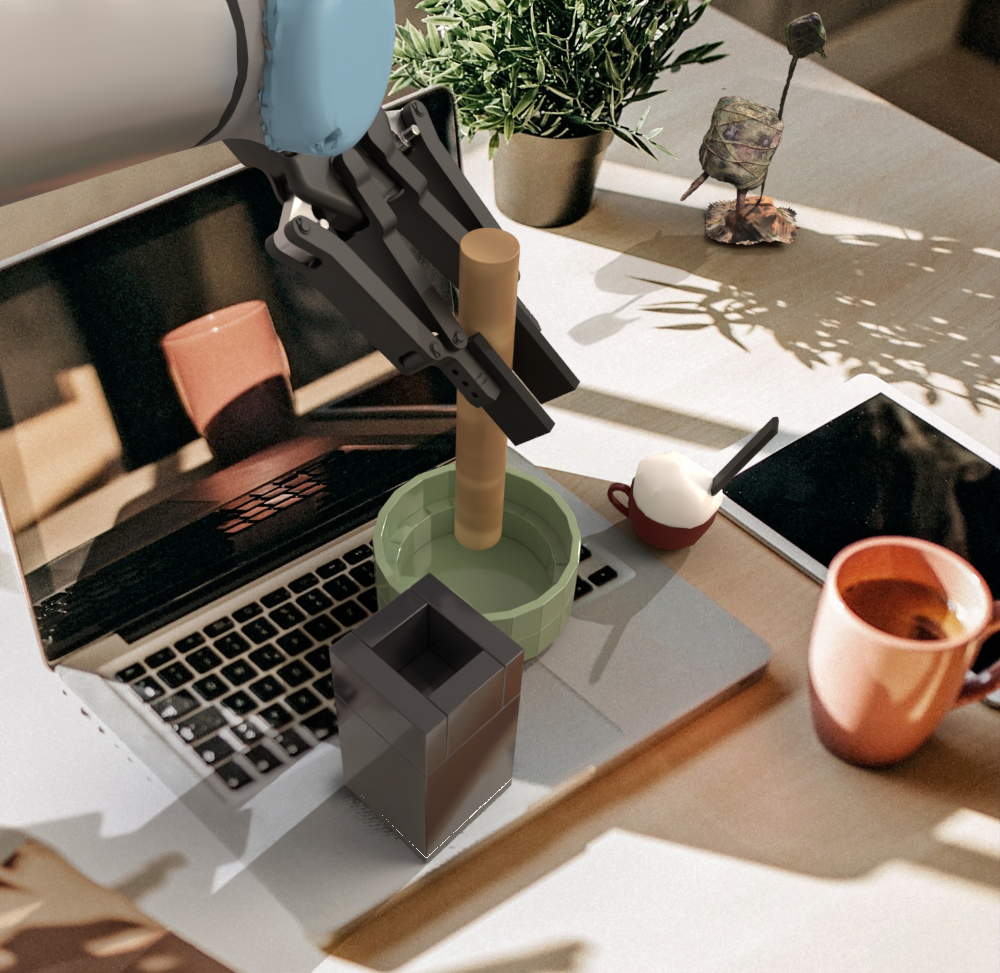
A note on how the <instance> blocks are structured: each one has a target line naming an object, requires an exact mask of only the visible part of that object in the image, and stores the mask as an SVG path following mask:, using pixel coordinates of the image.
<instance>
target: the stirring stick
mask: <svg viewBox="0 0 1000 973" xmlns="http://www.w3.org/2000/svg"><path fill="white" fill-rule="evenodd" d="M520 254H521V244H520V241H519V240H518V238H517V237H516V236H515V235H513V233H511V232H509V231H506V230H504V229H502V230H501V229H496V228H481V229H476V230H473V231H471V232H469V233H467V234H466V235H465V236H464V237H463V238H462V239H461V241H460V252H459V290H458V307H457V308H458V309H457V310H458V313H457V321H458V323H459V324H460V326H461V327H462V329H463V330H464V332H465V334H466V336H467V338H469V337H471V336H473V335H475V334H477V333H478V332H480V333H481V334H482V335H483V337H484V338H485V339H486V340H487V341H488V343H489V344H490V345H491V346H492V347H493V349H494V350H495V351H496V352H497V353H498V355H499V356H500V357H501V358H502V360H503V361H504V362H505V363H506V364H507V366H508V367H509V368H510V369H511V370H512V364H513V349H514V334H515V318H516V303H517V296H518V285H519V281H518V272H519V271H520V257H521V255H520ZM512 371H513V370H512ZM455 415H456V418H455V419H456V422H455V464H456V469H455V523H454V534H455V537H456V539H457V541H458V542H459V543H460V544H461V545H462V546H464V547H466V548H468V549H472V550H485V549H488V548H491V547H493V546H494V545H495V544H496V543H497V542H498V541H499V540H500V538H501V533H502V518H503V502H504V487H505V472H506V466H507V455H508V454H507V453H508V440H509V438H508V437H507V436H506V435H505V434H504V433H503V431H502V430H501V429H500V428H499V427H498V426H497V424H496V423H495V422H494V421H493V420H492V418H491V417H490V416H489V415H488V414H487V413H486V411H485V410H484V409H483V408H482V407H480V408H476V407H474V406H473V405H471V404H470V403H469V402H468V401H467V400H466V399H465V397H464V395H462V394H461V393H460V392H459V389H457V388H456V414H455Z"/></svg>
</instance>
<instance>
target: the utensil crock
mask: <svg viewBox="0 0 1000 973" xmlns="http://www.w3.org/2000/svg"><path fill="white" fill-rule="evenodd" d="M328 651H329V653H328V654H329V663H330V670H331V678H332V679H331V680H332V687H333V688H332V689H333V695H334V697H333V698H334V706H335V713H336V721H337V730H338V739H339V748H340V756H341V764H342V772H343V773H342V774H343V781H344V786H346V788H348V789H349V791H351V792H352V793H353V794H354V795H355V796H356V797H357V798H358V799H359V800H360V801H361V802H362V803H363V804H364V805H365V806H366V807H367V808H368V809H369V810H370V811H371V812H372V813H373V814H374V815H375V816H376V817H377V818H378V819H379V820H380V821H381V822H382V823H383V824H385V826H386V827H388V828H389V830H390V831H391V832H393V833H394V834H395V836H397V837H398V839H400V840H401V841H402V843H404V845H406V846H407V847H408V848H409V849H410V850H411V851H412V852H413V853H414V854H415V855H416V856H417V857H418V858H419V859H420V860H421V861H422V862H423V863H424V864H425V865H427V864H428V863H430V862H431V861H432V860H433V859H434V858H435V857H436V856H437V855H438V854H439V853H440V852H442V851H443V849H445V848H446V847H447V846H448V845H449V844H450V843H451V842H452V841H453V840H454V839H455V838H456V837H458V835H459V834H461V833H462V832H463V831H464V830H465V829H466V828H467V827H468V826H469V825H470V824H471V823H472V822H474V821H475V820H476V819H477V818H478V817H479V816H480V815H481V814H482V813H483V812H484V811H485V810H487V808H489V806H491V805H492V804H493V802H495V801H496V800H497V799H498V798H499V797H500V796H501V795H502V794H503V793H505V791H507V789H509V788H510V787H511V786H512V782H513V771H514V764H515V754H516V753H515V752H516V743H517V732H518V723H519V722H518V721H519V715H520V714H519V713H520V702H521V693H522V692H521V691H522V682H523V672H524V663H525V661H524V654H525V650H524V648H522V647H521V646H520V645H519V644H517V643H516V642H515V641H514V640H512V639H511V638H510V637H509V636H507V635H506V634H505V633H504V632H503V631H501V630H500V629H499V628H498V627H496V626H495V625H494V624H493V623H491V622H490V621H489V620H488V619H487V618H485V617H484V616H483V615H482V614H480V613H479V612H478V611H477V610H475V609H474V608H473V607H472V606H471V605H469V604H468V603H467V602H466V601H464V600H463V599H462V598H461V597H459V596H458V595H457V594H456V593H454V592H453V591H452V590H451V589H450V588H448V587H447V586H446V585H445V584H443V583H442V582H441V581H440V580H438V579H437V578H436V577H435V576H434V575H432V574H431V573H428V574H426V575H425V576H424V577H422V578H421V579H420V580H418V581H417V582H416V583H414V584H413V585H412V586H410V588H408V589H406V590H405V591H404V592H402V593H401V594H400V595H399V596H397V597H396V598H395V599H393V600H392V601H391V602H389V603H388V604H387V605H385V606H384V607H383V608H381V609H380V610H379V611H378V610H377V611H376V612H375V613H373V614H372V615H371V616H369V617H368V618H367V619H365V620H364V621H363V622H362V623H360V624H359V625H357V626H356V627H355V628H353V629H352V630H351V631H350V632H348V633H346V634H345V635H344V636H342V637H341V638H340V639H338V641H336V642H335V643H333V644H332V645H331V646H330V647H328ZM511 778H512V779H511ZM510 779H511V780H510ZM509 780H510V781H509ZM508 781H509V782H508ZM507 782H508V783H507ZM505 783H507V784H506V785H505ZM504 785H505V786H504ZM502 786H504V787H503V788H502V789H501V787H502ZM499 789H501V790H500V791H498V790H499ZM497 791H498V792H497ZM496 792H497V793H496ZM495 793H496V794H495ZM494 794H495V795H494ZM361 795H362V796H361ZM493 795H494V796H493ZM492 796H493V797H492ZM363 797H364V798H363ZM490 797H492V798H491V799H490ZM488 799H490V800H489V801H488ZM487 801H488V802H487ZM485 802H487V803H486V804H485V805H483V804H484V803H485ZM482 805H483V806H482ZM480 806H482V807H481V808H480V809H479V807H480ZM478 809H479V810H478ZM476 810H478V811H477V812H476V813H475V814H474V815H473V816H472V817H471V818H470V819H469V817H470V816H471V815H472V814H473V813H474V812H475V811H476ZM382 815H383V816H382ZM386 819H387V820H386ZM467 819H468V820H467ZM466 820H467V821H466ZM388 821H389V822H388ZM465 821H466V822H465ZM464 822H465V823H464ZM463 823H464V824H463ZM462 824H463V825H462ZM392 825H393V826H394V827H393V826H392ZM461 825H462V826H461ZM460 826H461V827H460ZM459 827H460V828H459ZM458 828H459V829H458ZM396 829H397V830H398V831H399V832H400V833H401V834H402V835H403V836H402V835H401V834H400V833H399V832H398V831H397V830H396ZM457 829H458V830H457ZM456 830H457V831H456ZM455 831H456V832H455ZM453 832H454V833H453ZM449 836H450V837H449ZM448 837H449V838H448ZM447 838H448V839H447ZM446 839H447V840H446ZM445 840H446V841H445ZM409 841H410V842H409ZM444 841H445V842H444ZM442 842H444V843H443V844H442ZM412 844H413V845H414V846H413V845H412ZM441 844H442V845H441ZM440 845H441V846H440ZM437 847H438V848H437ZM416 848H417V849H418V850H419V851H420V852H421V853H422V854H423V855H424V856H425V857H428V856H429V854H431V853H432V852H433V851H434V850H435V849H436V848H437V849H436V850H435V851H434V852H433V853H432V854H431V855H430V856H429V857H428V858H425V857H424V856H423V855H422V854H421V853H420V852H419V851H418V850H417V849H416Z"/></svg>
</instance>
